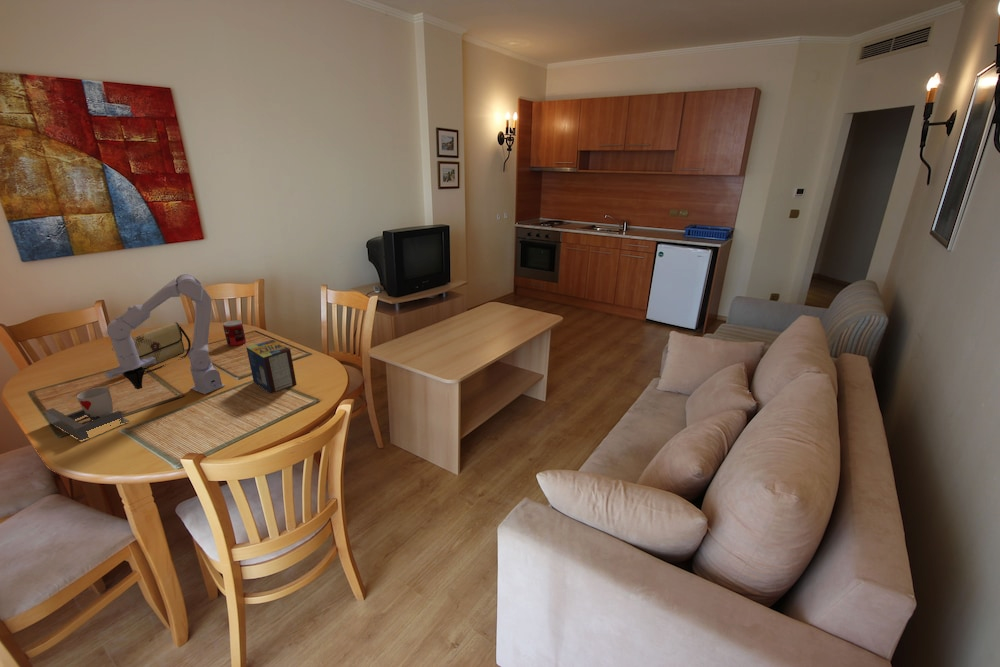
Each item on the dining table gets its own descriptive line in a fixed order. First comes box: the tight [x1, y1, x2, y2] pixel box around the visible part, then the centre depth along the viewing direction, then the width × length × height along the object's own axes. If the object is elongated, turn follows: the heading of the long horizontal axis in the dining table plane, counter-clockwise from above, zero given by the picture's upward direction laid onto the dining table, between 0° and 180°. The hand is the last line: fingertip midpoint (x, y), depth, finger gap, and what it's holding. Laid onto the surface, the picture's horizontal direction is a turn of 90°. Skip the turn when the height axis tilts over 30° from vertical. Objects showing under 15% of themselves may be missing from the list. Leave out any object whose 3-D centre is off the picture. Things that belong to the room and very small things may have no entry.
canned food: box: [222, 319, 247, 347], centre depth 208 cm, size 8×8×11 cm
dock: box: [44, 407, 130, 440], centre depth 144 cm, size 22×13×5 cm, turn 63°
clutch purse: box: [111, 321, 192, 373], centre depth 185 cm, size 30×7×15 cm, turn 166°
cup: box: [76, 386, 114, 421], centre depth 146 cm, size 8×8×10 cm
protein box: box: [246, 339, 297, 394], centre depth 170 cm, size 10×15×16 cm
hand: (138, 388), depth 155 cm, fingers closed
